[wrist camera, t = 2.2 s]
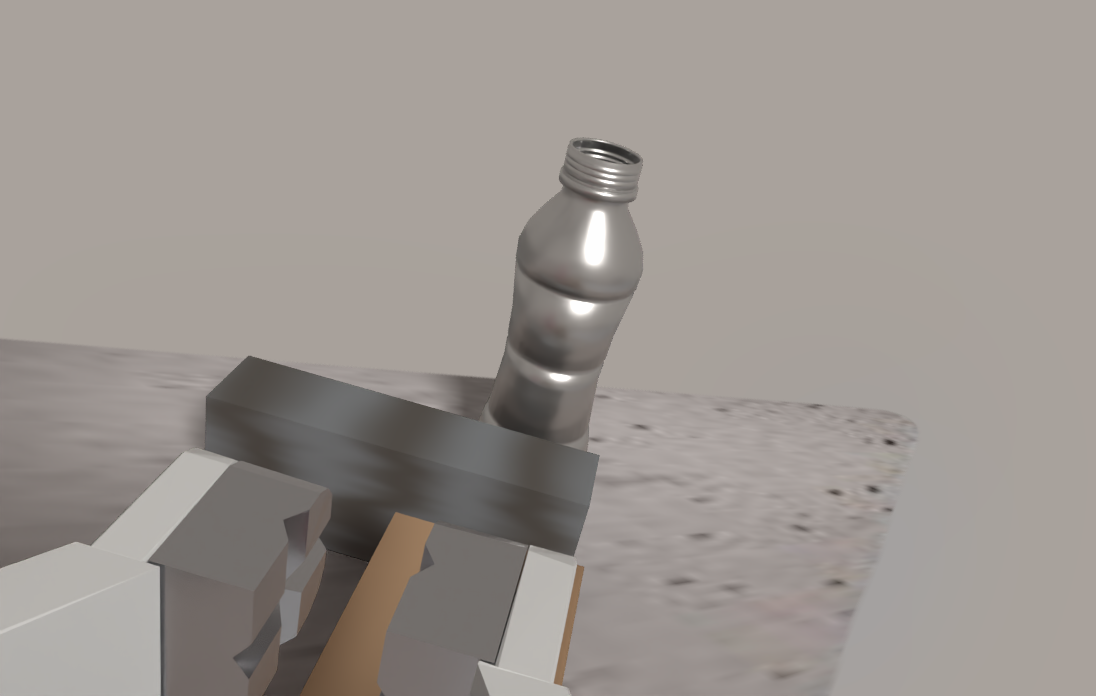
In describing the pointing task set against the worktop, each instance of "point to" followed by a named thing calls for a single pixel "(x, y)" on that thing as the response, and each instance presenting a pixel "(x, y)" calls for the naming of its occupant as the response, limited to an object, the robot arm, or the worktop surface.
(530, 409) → the silver metal bottle
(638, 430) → the worktop surface
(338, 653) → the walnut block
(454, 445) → the charcoal board
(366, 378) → the worktop surface
